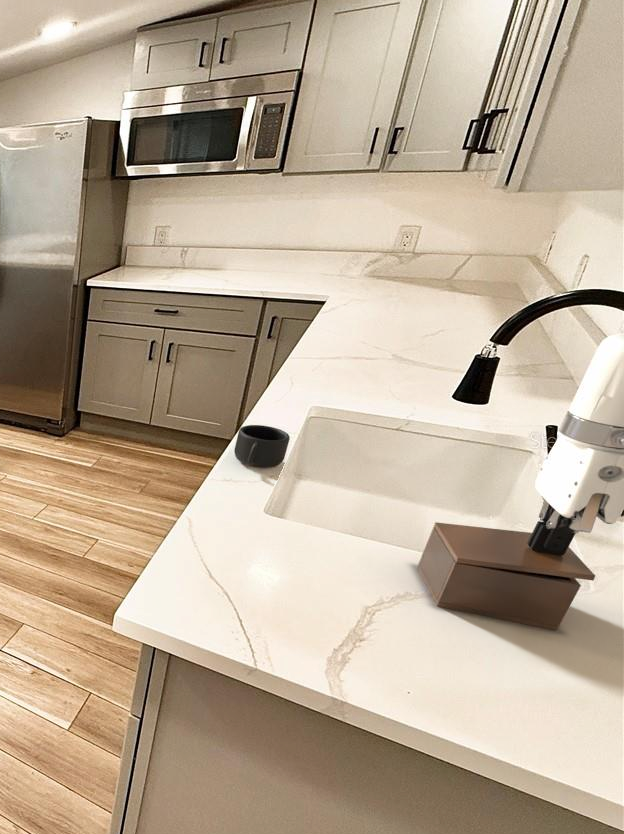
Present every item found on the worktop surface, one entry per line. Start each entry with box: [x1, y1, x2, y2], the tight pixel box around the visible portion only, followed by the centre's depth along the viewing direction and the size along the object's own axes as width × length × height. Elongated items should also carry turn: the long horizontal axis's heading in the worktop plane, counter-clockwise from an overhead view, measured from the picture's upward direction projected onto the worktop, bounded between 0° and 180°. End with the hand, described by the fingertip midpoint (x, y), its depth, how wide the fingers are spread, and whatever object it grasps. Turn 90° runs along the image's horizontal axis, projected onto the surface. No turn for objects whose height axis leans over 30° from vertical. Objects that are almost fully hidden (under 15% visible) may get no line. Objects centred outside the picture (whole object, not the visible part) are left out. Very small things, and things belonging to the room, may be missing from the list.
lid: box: [433, 521, 596, 581], centre depth 88 cm, size 13×10×1 cm
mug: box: [233, 424, 291, 469], centre depth 131 cm, size 12×9×7 cm
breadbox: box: [416, 526, 582, 631], centre depth 90 cm, size 12×10×8 cm
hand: (544, 550), depth 86 cm, fingers closed
